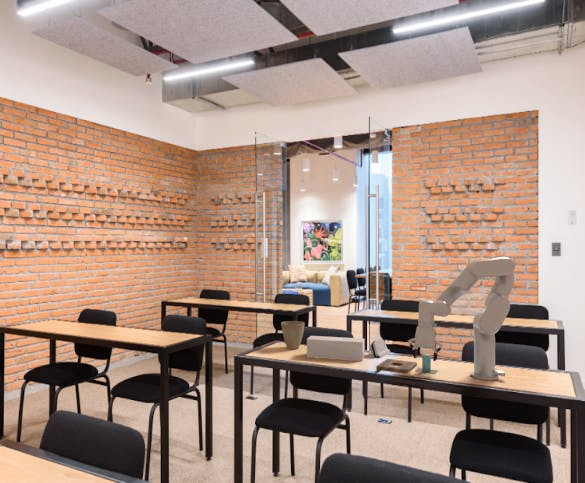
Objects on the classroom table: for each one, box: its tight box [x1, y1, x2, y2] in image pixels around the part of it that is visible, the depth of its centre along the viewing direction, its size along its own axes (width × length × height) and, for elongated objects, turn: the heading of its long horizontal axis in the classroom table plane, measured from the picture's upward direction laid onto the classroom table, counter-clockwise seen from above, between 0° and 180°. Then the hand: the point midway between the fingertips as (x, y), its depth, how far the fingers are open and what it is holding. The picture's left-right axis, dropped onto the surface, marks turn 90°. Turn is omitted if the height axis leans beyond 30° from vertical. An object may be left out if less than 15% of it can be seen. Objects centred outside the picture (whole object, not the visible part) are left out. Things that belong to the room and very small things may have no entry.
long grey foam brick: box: [306, 335, 366, 362], centre depth 263 cm, size 32×11×11 cm, turn 75°
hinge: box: [369, 338, 391, 359], centre depth 269 cm, size 17×5×10 cm, turn 147°
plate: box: [414, 367, 439, 375], centre depth 228 cm, size 10×8×2 cm
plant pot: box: [280, 320, 306, 350], centre depth 286 cm, size 15×15×16 cm
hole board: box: [376, 358, 418, 374], centre depth 235 cm, size 16×18×3 cm
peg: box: [421, 353, 432, 372], centre depth 228 cm, size 4×4×8 cm
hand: (424, 359), depth 228 cm, fingers open, 9 cm apart
